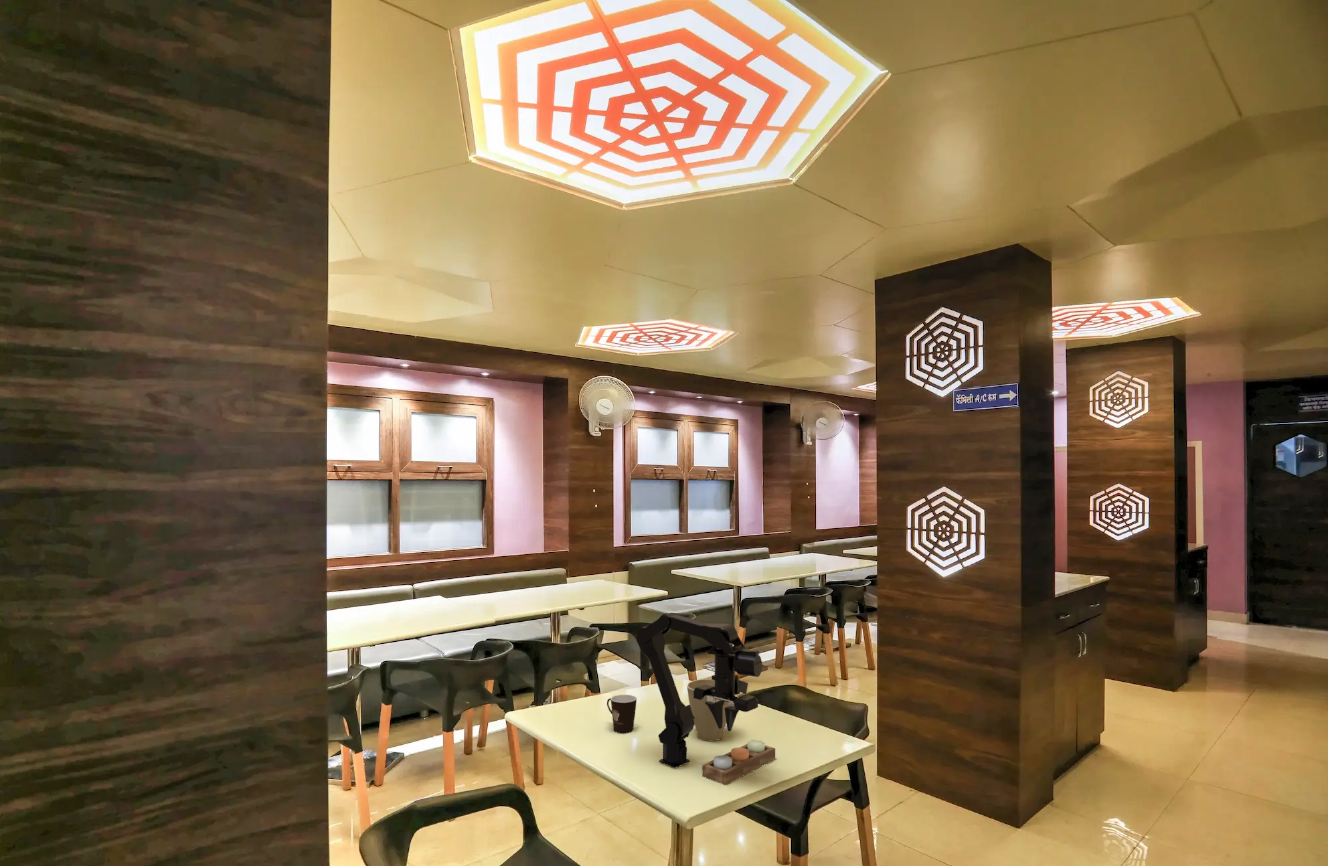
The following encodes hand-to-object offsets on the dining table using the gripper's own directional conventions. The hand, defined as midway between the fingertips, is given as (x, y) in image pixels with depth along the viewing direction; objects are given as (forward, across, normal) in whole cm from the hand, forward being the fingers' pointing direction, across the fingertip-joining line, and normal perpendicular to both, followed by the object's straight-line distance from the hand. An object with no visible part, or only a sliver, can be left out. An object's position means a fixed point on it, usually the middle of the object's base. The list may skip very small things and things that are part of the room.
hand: (725, 729), depth 181 cm
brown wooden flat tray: (+12, 0, -7) cm, 14 cm away
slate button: (+10, 0, +1) cm, 11 cm away
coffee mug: (+12, +47, -6) cm, 49 cm away
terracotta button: (+11, 0, -7) cm, 13 cm away
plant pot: (+12, +21, -20) cm, 31 cm away
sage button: (+10, 0, -15) cm, 18 cm away
